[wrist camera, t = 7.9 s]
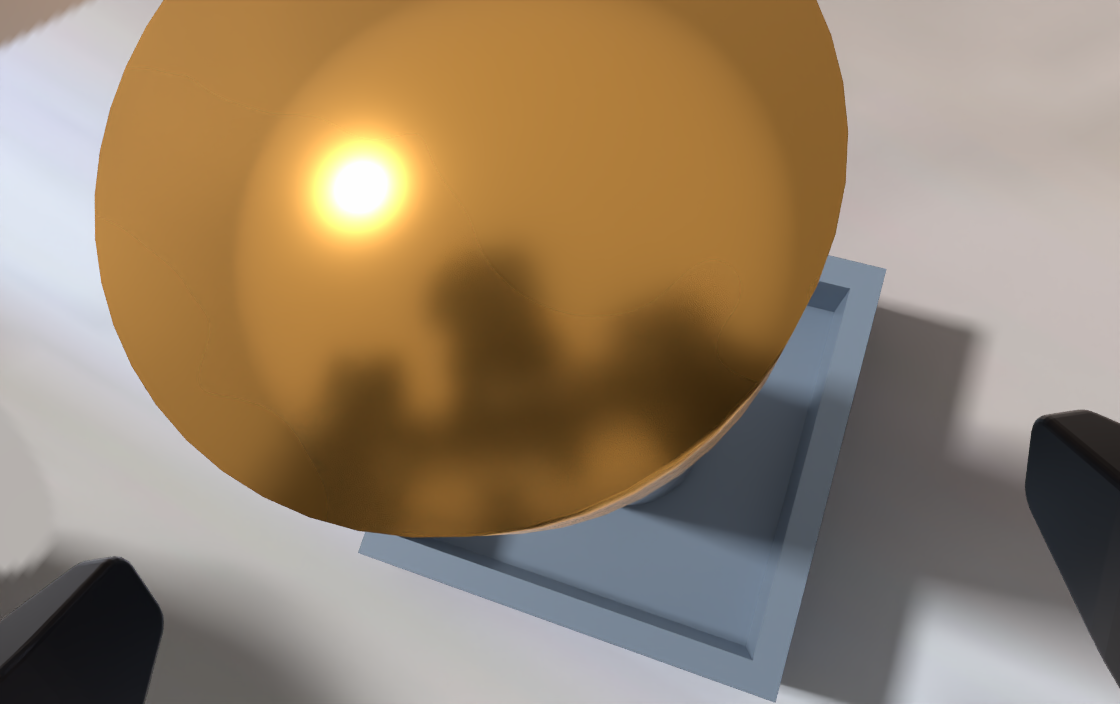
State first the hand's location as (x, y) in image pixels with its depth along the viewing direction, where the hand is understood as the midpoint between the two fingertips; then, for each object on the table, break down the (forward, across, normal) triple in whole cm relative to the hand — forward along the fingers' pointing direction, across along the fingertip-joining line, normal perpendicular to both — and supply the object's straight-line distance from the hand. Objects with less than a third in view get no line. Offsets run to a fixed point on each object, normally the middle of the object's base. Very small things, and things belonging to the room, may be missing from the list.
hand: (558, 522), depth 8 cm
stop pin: (+9, 0, +6) cm, 11 cm away
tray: (+10, 0, +6) cm, 12 cm away
